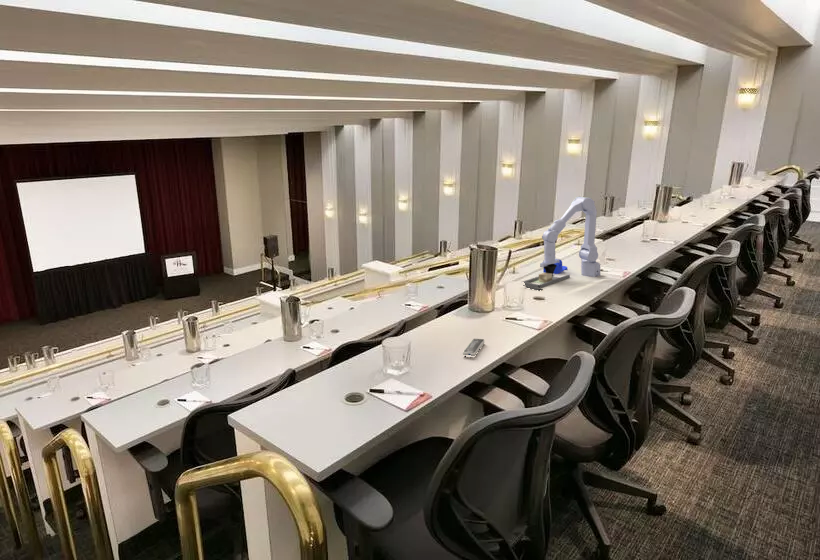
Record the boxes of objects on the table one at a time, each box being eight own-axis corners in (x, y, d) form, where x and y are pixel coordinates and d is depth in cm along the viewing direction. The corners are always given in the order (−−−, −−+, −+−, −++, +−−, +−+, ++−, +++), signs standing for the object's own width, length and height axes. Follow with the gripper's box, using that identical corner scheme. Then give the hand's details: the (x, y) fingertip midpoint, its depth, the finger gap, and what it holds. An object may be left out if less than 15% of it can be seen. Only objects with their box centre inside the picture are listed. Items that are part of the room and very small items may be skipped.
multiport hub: (484, 344, 202) (484, 339, 201) (474, 359, 189) (474, 353, 188) (473, 343, 203) (473, 338, 203) (462, 358, 191) (462, 352, 190)
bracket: (557, 276, 293) (557, 261, 291) (543, 275, 298) (543, 260, 296) (569, 269, 307) (569, 254, 304) (556, 268, 312) (556, 253, 309)
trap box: (569, 280, 283) (569, 274, 283) (539, 290, 267) (539, 285, 266) (551, 277, 292) (551, 272, 291) (521, 287, 276) (521, 282, 275)
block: (552, 280, 279) (552, 273, 278) (546, 282, 276) (546, 275, 275) (544, 279, 282) (544, 272, 281) (538, 281, 279) (538, 274, 278)
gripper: (551, 250, 285) (551, 274, 289) (535, 254, 277) (535, 279, 280) (562, 251, 280) (562, 276, 283) (546, 256, 271) (546, 281, 275)
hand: (549, 278), depth 281 cm, fingers closed
